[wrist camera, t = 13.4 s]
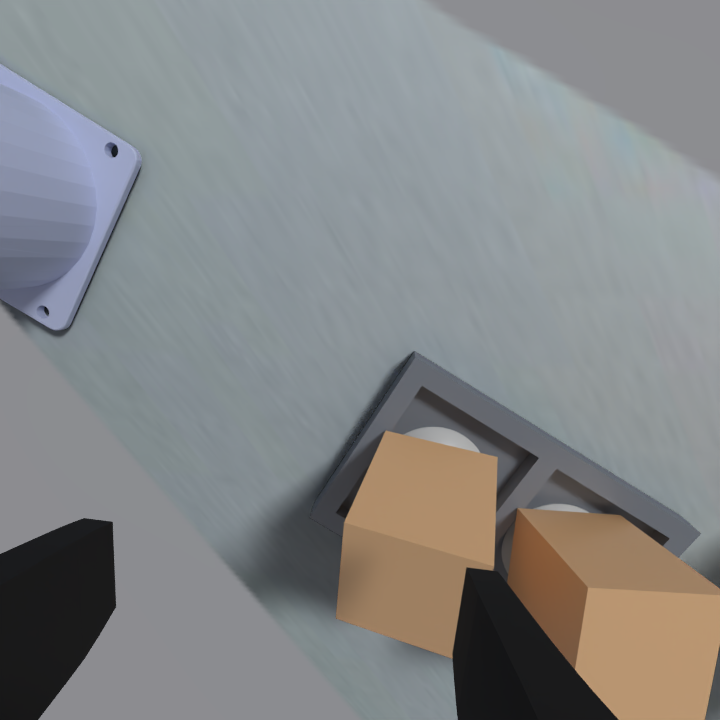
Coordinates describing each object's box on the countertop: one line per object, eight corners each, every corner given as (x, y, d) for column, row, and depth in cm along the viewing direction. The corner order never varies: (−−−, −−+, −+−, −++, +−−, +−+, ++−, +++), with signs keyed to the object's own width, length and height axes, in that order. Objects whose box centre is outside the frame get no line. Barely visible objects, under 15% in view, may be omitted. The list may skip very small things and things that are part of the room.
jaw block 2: (503, 607, 18) (566, 721, 13) (517, 508, 17) (588, 587, 13) (603, 612, 18) (703, 727, 13) (620, 514, 18) (729, 595, 13)
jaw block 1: (375, 513, 19) (335, 618, 15) (385, 430, 17) (344, 522, 13) (475, 541, 18) (465, 663, 14) (497, 456, 16) (494, 566, 12)
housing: (314, 502, 20) (309, 517, 18) (414, 350, 18) (415, 357, 17) (560, 648, 20) (571, 672, 19) (681, 516, 18) (700, 533, 17)
